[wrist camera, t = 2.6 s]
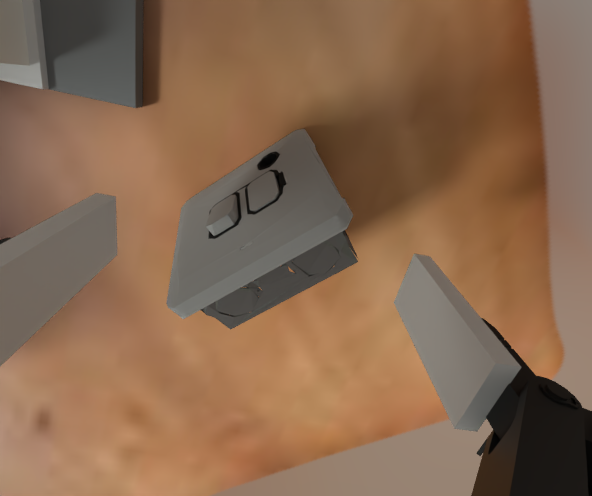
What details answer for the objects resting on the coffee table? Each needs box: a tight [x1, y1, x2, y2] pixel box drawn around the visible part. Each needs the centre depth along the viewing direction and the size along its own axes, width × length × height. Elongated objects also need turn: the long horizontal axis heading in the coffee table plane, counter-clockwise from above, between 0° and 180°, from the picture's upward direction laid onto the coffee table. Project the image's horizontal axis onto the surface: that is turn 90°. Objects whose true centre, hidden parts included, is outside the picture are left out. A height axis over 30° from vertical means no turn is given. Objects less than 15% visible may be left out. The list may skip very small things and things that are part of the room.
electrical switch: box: [167, 129, 358, 329], centre depth 18 cm, size 9×5×9 cm, turn 121°
